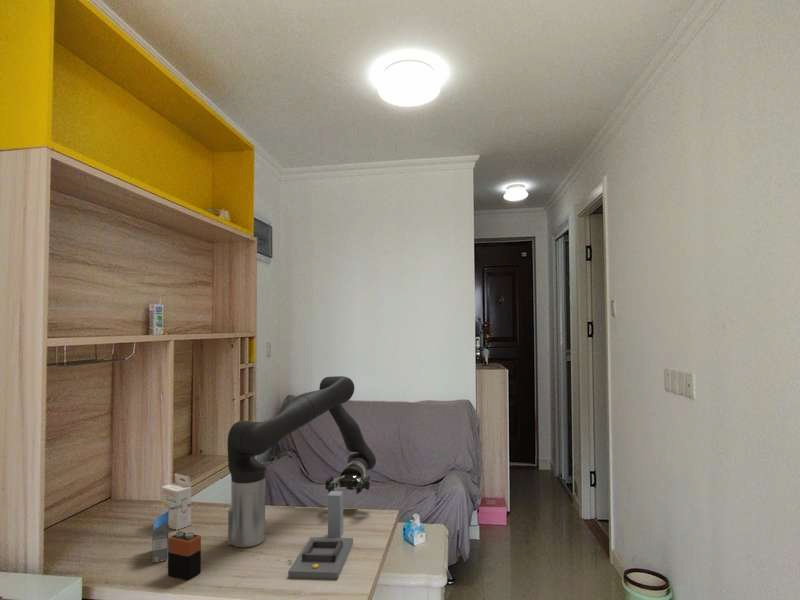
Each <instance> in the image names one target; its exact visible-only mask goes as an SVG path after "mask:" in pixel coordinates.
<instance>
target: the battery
mask: <svg viewBox="0 0 800 600" xmlns="http://www.w3.org/2000/svg"><path fill="white" fill-rule="evenodd" d="M201 554H202V536H201V535H199V534H195V532H193V531H188V532H184V531H182V530H177V531H176V532H175V534H173V535H172V536H169V538H168V560H167V576H169V575H170V576H169V577H172V576H173V577H172V578H176V577H177V579H180V578H181V579H182V580H184V579H185V580H184V581H189V580H191V579H193V578H194V577H196V576H198V575H199V574H200V573H201V571H202V569H201V565H202V564H201V563H202V562H201V561H202V555H201ZM192 577H193V578H192Z"/></svg>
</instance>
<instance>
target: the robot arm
mask: <svg viewBox="0 0 800 600" xmlns="http://www.w3.org/2000/svg"><path fill="white" fill-rule="evenodd" d="M318 388H319V389H317V390H311V391H309V392H304V393H301V394H299V395H296V396H295V397H293V398H290V399H289V400H287V401H286V402H284V404H283V405H282V406H281V407H280V409H279V410H278V411H279V412H278V414H277V415H275V416H273V417H271V418H269V419H266V420H264V421H250V420H239V421H237V422H235V423H234V424H232V425H231V427H230V429H229V432H228V435H227V444H226V445H227V463H228V464H227V467H228V471H229V473H230V476H231V478H230V479H231V480H230V481H231V484H230V485H231V489H230V490H231V493H230V494H231V498H230V501H231V502H230V507H229V509H228V510H227V512H228V515H227V521H228V523H227V526H228V527H227V545H228V546H229V545H231V546H233V547H236V548H251V547H255V546H258V545H260V544H261V543H263V542H264V541H266V540H265V539H266V469H265V467H264V466H263V464H261V463H260V462H259V461H258V459H256V456H261V455H263V454H264V453H266V452H267V451H269V450H270V449H272V448H273V447H274V446H275V445H276V444H277V443H278V442H280V441H281V440H282V439H283V438H285V437H287V436H289V435H290V434H292V433H293V432H296V431H297V430H298V429H300V428H302V427H304V426H306V425H307V424H309V423H310V422H312V421H313V420H314V419H317V418H318V417H320V416H321V415H323V414H325V413H326V412H328V411H329V414H330V415H331V417H332V419H333V420H334V422H335V424H336V426H337V427H338V429H339V432H340V434H341V438H342V439H343V442H344V445H345V447H346V450H347V451H348V452H349V453H351V454H349V456H348V457H347V465H346V466H345V467H344V468H343V470H342V471H341V473H340V476H338V477H336V478H334V476H333V475H331V476H329V477H328V478H327V479H326V480H325V481H324V483H325V484H324V485H325V487H324V488H325V490H327V492H328V494H329V493H330V492H331V491H336V490H337V491H341V490H342V489H346V490H348V491H349V490H350V491H351V490H352V491H353V490H356V495H357V494H358V495H359V494H360V493H361V492H362V491H364V489H365V490H366V491H369V490H370V487H371V485H372V484H371V476H370V475H369V476H366V474H367V471H369V470H372V469H374V468H375V466H376V464H377V459H376V456H375V454H374V452H373V450H372V449H371V448H370V447H369V445H368V444H367V442H366V441H365V438H364V437H363V434H362V430H361V428H360V425H359V424H358V423H357V422H356V420H355V419H354V418H353V417H352V416H351V415H350V413H348V411H347V410H346V409H345V408H344V407H343V404H344V403H347V402H348V401H350V400H351V398H352V397H353V395H354V394H355V384H354V382H353V380H352V379H351V378H349V377H348V376H343V375H340V376H339V375H338V376H336V375H335V376H333V375H332V376H325V377H324V378H322V379H321V381H320V384H319V387H318Z"/></svg>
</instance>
